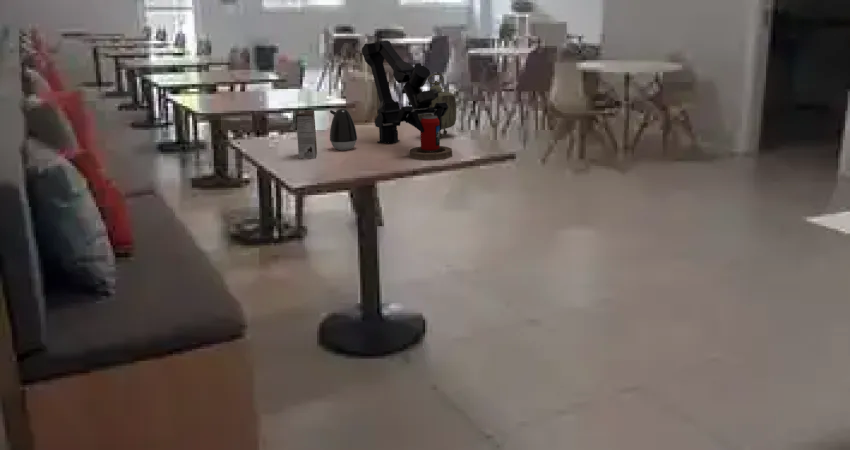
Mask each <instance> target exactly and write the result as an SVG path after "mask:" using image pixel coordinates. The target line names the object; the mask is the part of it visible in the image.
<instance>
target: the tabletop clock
mask: <svg viewBox="0 0 850 450" xmlns="http://www.w3.org/2000/svg"><path fill="white" fill-rule="evenodd" d="M434 76H440V77H441V78H442V79H441V81H439V82H438V81H437V80H434V82H432V81H430V79H431V77H434ZM443 81H444V76H443V75H442V74H441V73H437V72H436V73H432V74H430V75H429V77H428V79H427V82H428V83H429V84H430V85H432V86H431V87H430V88H429V90H431V89H436V90H437V91H438V95H439V96H438V97H437V98H435V100H432V101H431V102H432V104H431V105H429V107H434V106H435V104H436V103H439V102H446V103H447V104H448V106H449V108H448V109H447V111H446V113H445V114H444V116H442V117H441V130H443V131H440V137H441V138H443V135H447V134H448V131H447V130H446V129H449V128H452V127H453V126H454V125H456V121H457V100H456V97H455V94H454V93H452V92H447V91H443V87H442V86H441V85H440V84H442V83H443ZM427 115H432V114H431V113H429V114H421V115H418V118H419V120H420V121H421V119H422V116H427ZM441 132H442V133H443V134H442V133H441ZM420 137H421V134H420Z"/></svg>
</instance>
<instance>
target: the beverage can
mask: <svg viewBox="0 0 850 450" xmlns="http://www.w3.org/2000/svg"><path fill="white" fill-rule="evenodd" d="M420 122H421V124H422V126H423V129H424V132H423V133H422V132H421V131H420V135H421V136H420V147H421V149H423V150H424V151H436V150H438V149H439V148H440V146H441V145H440V144H441V142H440V139H441V138H440V132H441V130H440V126H439V119H438V118H437V116H434V115H427V116H422V119H421V121H420Z"/></svg>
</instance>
